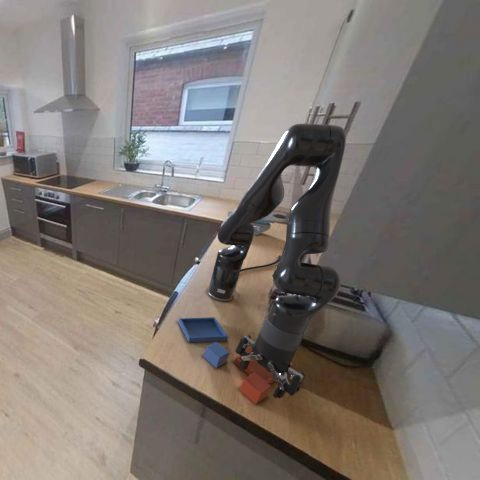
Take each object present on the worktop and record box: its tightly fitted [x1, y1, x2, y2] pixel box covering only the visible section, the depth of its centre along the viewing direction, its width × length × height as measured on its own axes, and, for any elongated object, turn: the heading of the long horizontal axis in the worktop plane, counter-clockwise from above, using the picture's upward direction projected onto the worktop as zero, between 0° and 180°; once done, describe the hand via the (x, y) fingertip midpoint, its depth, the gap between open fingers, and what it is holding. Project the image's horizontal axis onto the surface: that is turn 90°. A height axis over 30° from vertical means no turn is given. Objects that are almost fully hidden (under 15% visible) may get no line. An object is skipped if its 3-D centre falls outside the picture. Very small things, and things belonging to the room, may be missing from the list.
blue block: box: [203, 341, 230, 369], centre depth 78 cm, size 4×4×4 cm
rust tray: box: [233, 348, 294, 385], centre depth 77 cm, size 13×9×2 cm
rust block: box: [239, 373, 272, 405], centre depth 69 cm, size 4×4×4 cm
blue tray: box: [177, 316, 229, 343], centre depth 89 cm, size 13×9×2 cm
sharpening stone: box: [226, 211, 276, 236], centre depth 164 cm, size 25×8×11 cm, turn 64°
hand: (258, 381), depth 67 cm, fingers open, 8 cm apart
